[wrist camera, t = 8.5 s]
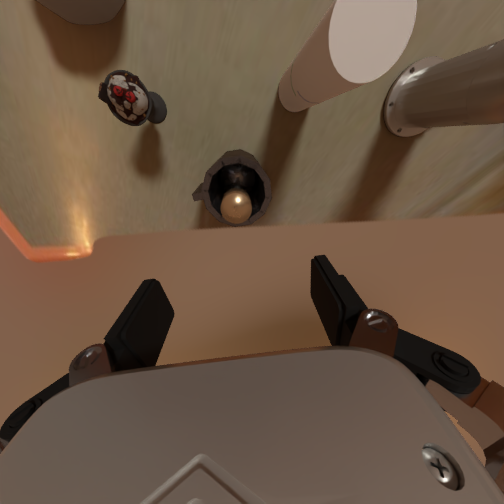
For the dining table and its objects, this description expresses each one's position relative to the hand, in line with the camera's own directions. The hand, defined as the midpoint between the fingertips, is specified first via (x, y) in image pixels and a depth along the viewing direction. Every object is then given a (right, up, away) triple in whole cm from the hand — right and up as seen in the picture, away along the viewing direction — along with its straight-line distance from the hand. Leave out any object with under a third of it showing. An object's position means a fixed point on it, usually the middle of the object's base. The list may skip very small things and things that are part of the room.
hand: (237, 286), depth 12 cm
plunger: (-2, +19, +31) cm, 36 cm away
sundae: (-18, +30, +26) cm, 44 cm away
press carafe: (-3, +19, +33) cm, 39 cm away
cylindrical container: (+9, +34, +26) cm, 43 cm away
